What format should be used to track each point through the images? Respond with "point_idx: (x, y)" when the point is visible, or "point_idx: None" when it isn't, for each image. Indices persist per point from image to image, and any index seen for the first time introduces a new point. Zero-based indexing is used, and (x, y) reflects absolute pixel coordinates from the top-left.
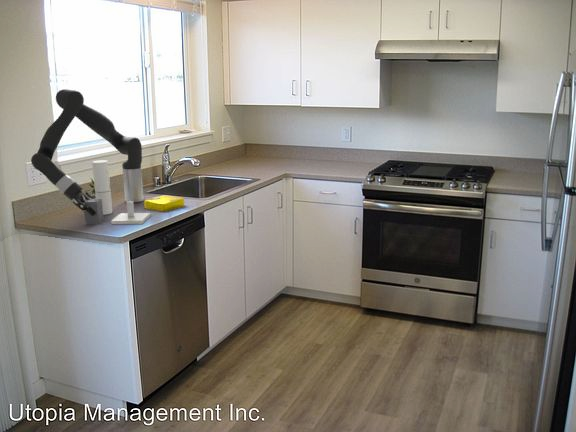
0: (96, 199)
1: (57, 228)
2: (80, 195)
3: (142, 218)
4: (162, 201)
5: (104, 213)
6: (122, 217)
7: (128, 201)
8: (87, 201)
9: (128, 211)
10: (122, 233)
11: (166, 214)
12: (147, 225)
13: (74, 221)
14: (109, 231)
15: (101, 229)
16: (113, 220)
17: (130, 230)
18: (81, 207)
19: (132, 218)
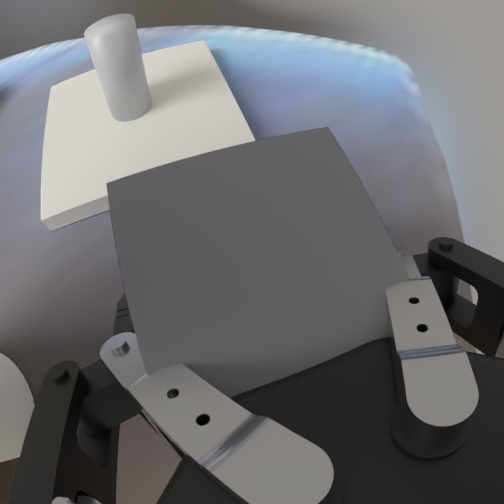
0: (167, 235)
1: None
2: (444, 477)
3: (163, 53)
4: None
5: (23, 383)
6: (154, 136)
7: (93, 36)
8: (374, 291)
9: (144, 74)
10: (370, 63)
11: (38, 72)
12: (223, 35)
13: None
14: (382, 111)
15: (380, 159)
16: (247, 142)
17: (320, 53)
18: (454, 312)
19: (170, 82)
